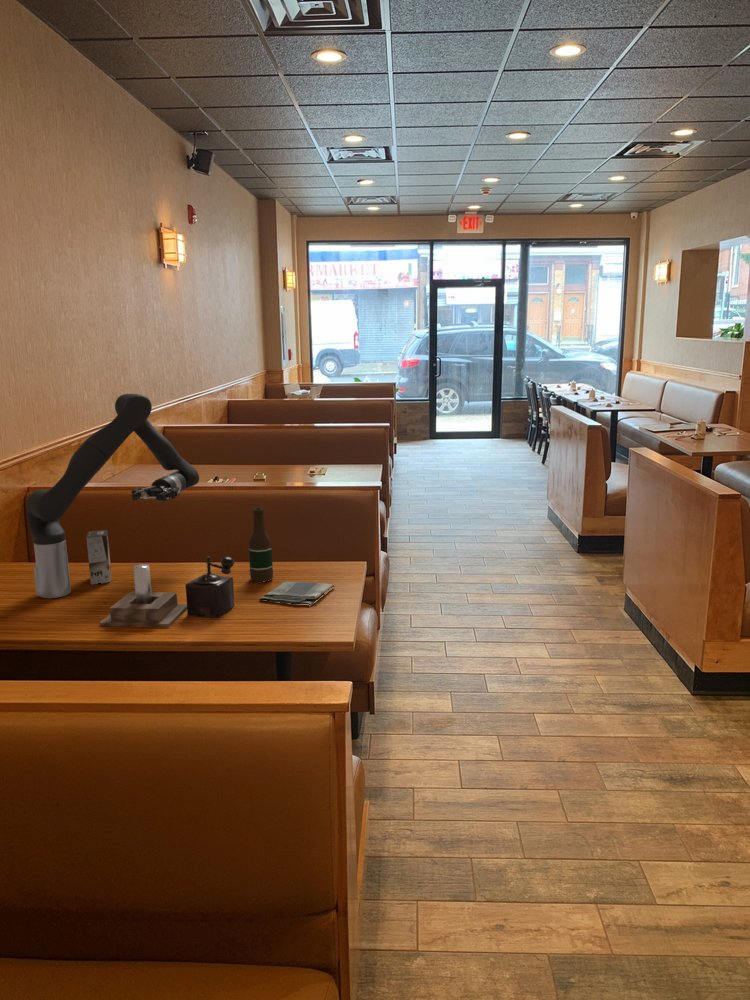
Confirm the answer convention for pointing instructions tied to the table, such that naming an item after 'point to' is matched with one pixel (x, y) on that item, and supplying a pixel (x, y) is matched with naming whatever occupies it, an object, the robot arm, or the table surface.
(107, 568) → the coffee box
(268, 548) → the beer bottle
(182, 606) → the socket block
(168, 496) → the robot arm
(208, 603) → the dark manual coffee grinder
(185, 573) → the table surface
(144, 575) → the pin
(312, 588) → the dish towel
